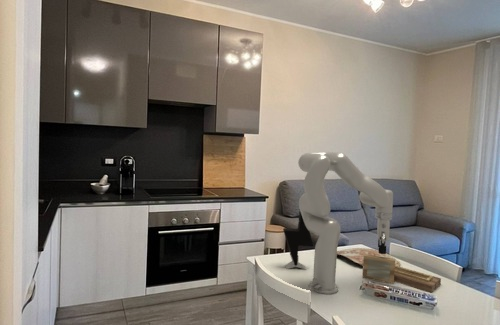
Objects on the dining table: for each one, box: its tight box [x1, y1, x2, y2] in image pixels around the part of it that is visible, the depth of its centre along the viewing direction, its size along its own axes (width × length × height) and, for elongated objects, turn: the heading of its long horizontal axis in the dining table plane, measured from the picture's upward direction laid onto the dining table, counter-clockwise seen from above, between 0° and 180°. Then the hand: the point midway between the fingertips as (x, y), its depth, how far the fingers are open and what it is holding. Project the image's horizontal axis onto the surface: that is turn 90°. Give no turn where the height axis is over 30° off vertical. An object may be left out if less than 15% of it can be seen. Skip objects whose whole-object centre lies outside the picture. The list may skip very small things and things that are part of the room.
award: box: [283, 210, 314, 270], centre depth 170 cm, size 15×5×30 cm, turn 92°
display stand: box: [394, 266, 442, 294], centre depth 161 cm, size 14×24×4 cm, turn 45°
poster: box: [337, 247, 401, 267], centre depth 189 cm, size 28×6×30 cm
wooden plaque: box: [361, 254, 396, 285], centre depth 160 cm, size 4×14×11 cm, turn 66°
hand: (381, 250), depth 160 cm, fingers open, 9 cm apart
